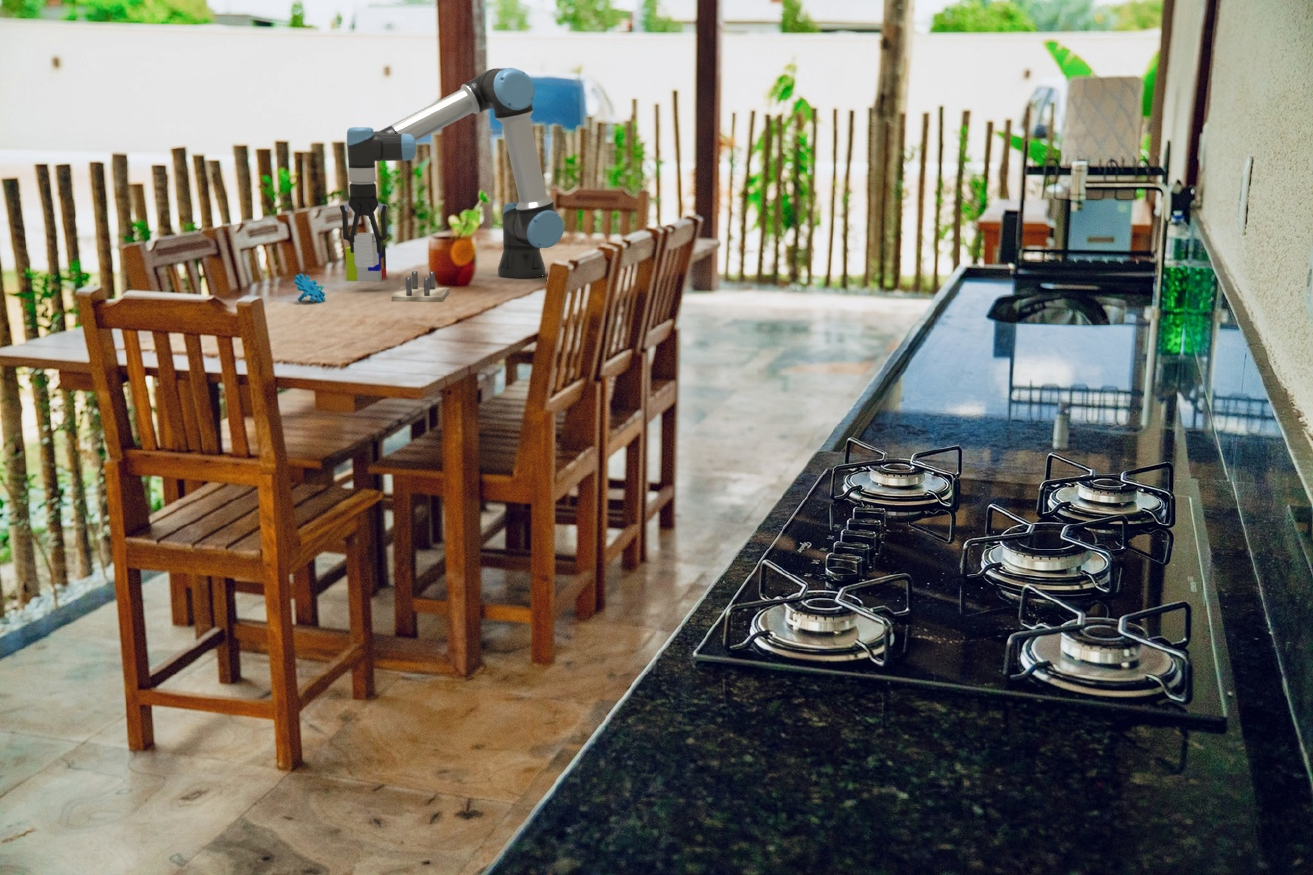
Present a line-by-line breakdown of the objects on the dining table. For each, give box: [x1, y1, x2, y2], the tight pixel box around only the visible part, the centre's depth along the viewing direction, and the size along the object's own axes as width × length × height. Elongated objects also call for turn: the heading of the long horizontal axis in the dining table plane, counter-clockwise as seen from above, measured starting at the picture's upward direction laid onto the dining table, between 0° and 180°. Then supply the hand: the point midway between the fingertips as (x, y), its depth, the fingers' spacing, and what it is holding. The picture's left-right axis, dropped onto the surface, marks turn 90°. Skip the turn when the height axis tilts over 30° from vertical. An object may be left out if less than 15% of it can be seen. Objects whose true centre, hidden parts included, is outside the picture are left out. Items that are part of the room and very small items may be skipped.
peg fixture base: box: [390, 270, 450, 303], centre depth 376 cm, size 14×18×6 cm
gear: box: [293, 273, 326, 304], centre depth 365 cm, size 11×6×10 cm
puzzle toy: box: [344, 244, 387, 282], centre depth 407 cm, size 10×10×10 cm
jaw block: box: [354, 232, 376, 267], centre depth 382 cm, size 5×7×9 cm
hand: (366, 264), depth 383 cm, fingers closed on jaw block, 5 cm apart
